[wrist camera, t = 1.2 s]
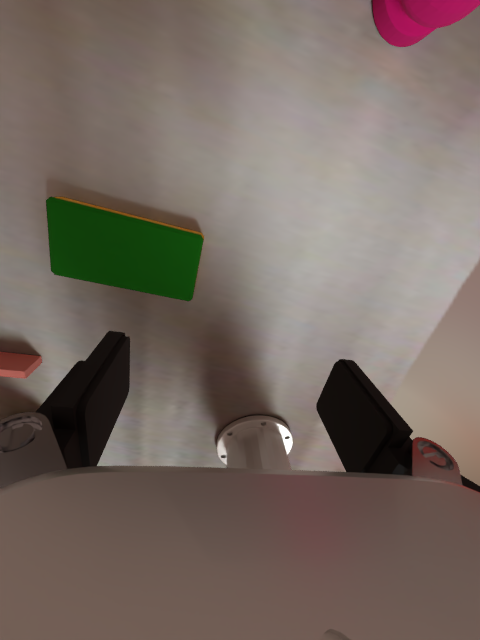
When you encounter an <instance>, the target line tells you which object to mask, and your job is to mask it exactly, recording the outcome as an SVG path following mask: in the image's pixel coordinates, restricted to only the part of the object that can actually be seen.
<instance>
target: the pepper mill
mask: <svg viewBox="0 0 480 640" xmlns="http://www.w3.org/2000/svg"><path fill="white" fill-rule="evenodd" d="M479 5H480V0H373V14H374V20H375V24H376V27H377V29H378V31H379V33H380V35H381V36H382V38H384V39H385V40H386V41H387V42H388V43H389V44H391V45H394V46H397V47H406V46H410V45H413V44H415V43H417V42H419V41H420V40H422V39H423V38H424V37H426V36H427V35H428V34H430V33H431V32H432V31H434V30H435V29H436V28H440V27H444V26H448V25H451V24H453V23H455V22H457V21H459V20H461V19H462V18H464V17H465V16H467V15H468V14H469V13H471V12H472V11H473V10H474V9H475V8H476V7H478V6H479Z"/></svg>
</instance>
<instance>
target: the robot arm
mask: <svg viewBox="0 0 480 640" xmlns="http://www.w3.org/2000/svg"><path fill="white" fill-rule="evenodd" d="M129 375H130V338H129V337H126V336H125V333H122V332H114V331H109V332H108V333H107V334H106V335H105V337H104V338H103V339H102V340H101V342H100V343H99V344H98V345H97V347H96V348H95V349H94V351H93V352H92V353H91V354H90V356H89V357H88V358H87V359H86V361H78V362H77V363H76V364H75V365H74V367H73V368H72V369H71V370H70V371H69V373H68V374H67V375H66V376H65V377H64V379H63V380H62V381H61V382H60V383H59V385H58V386H57V387H56V388H55V390H54V391H53V392H52V393H51V394H50V396H49V397H48V398H47V399H46V400H45V402H44V403H43V404H42V405H41V406H40V408H39V409H38V410H37V411H36V412H25V413H19V414H15V415H11V416H9V417H6V418H4V419H2V420H0V640H480V486H478V485H477V484H475V483H473V482H472V481H470V480H468V479H467V478H465V477H463V476H462V475H460V470H459V467H458V464H457V462H456V461H455V459H454V458H453V457H452V456H451V455H450V454H449V453H448V452H447V451H446V450H445V449H443V448H442V447H441V446H440V445H438V444H436V443H434V442H433V441H431V440H428V439H426V438H422V437H417V438H415V439H413V441H412V439H411V438H410V437H409V436H410V435H411V433H412V432H413V430H412V429H411V428H410V427H409V426H408V424H407V423H406V422H405V421H404V420H403V418H402V417H401V416H400V415H399V414H398V413H397V411H396V410H395V409H394V408H393V407H392V405H391V404H390V403H389V402H388V401H387V400H386V398H385V397H384V396H383V395H382V394H381V392H380V391H379V390H378V389H377V388H376V387H375V385H374V384H373V383H372V382H371V381H370V379H369V378H368V377H367V376H366V375H365V374H364V372H363V371H362V370H361V369H360V368H359V366H358V365H357V364H356V363H355V362H354V361H352V360H345V359H340V360H339V361H338V362H336V363H335V364H334V366H333V368H332V371H331V373H330V375H329V377H328V380H327V382H326V384H325V386H324V388H323V391H322V393H321V395H320V397H319V400H318V402H317V411H318V413H319V416H320V418H321V420H322V422H323V424H324V426H325V428H326V430H327V432H328V434H329V436H330V439H331V441H332V443H333V445H334V447H335V449H336V451H337V453H338V455H339V457H340V459H341V462H342V464H343V466H344V468H345V470H346V472H329V471H303V470H292V469H291V466H290V462H289V459H288V455H287V454H288V453H289V451H290V450H291V447H292V444H293V439H292V435H291V432H290V429H289V428H288V426H287V425H286V424H285V423H284V422H282V421H281V420H279V419H277V418H274V417H270V416H263V415H255V416H248V417H244V418H241V419H238V420H236V421H234V422H232V423H231V424H229V425H228V426H227V427H225V428H224V429H223V430H222V432H221V433H220V435H219V437H218V439H217V454H218V456H219V458H220V459H221V461H222V462H224V463H225V464H226V465H227V468H211V467H177V466H97V464H98V462H99V460H100V457H101V455H102V453H103V450H104V448H105V446H106V444H107V441H108V439H109V437H110V434H111V432H112V430H113V428H114V425H115V423H116V421H117V418H118V416H119V414H120V412H121V409H122V407H123V405H124V402H125V400H126V398H127V395H128V392H129Z"/></svg>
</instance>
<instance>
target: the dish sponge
mask: <svg viewBox="0 0 480 640" xmlns="http://www.w3.org/2000/svg"><path fill="white" fill-rule="evenodd" d="M46 206H47V220H48V234H49V248H50V262H51V271H52V272H53V273H54V274H55V275H59V276H64V277H69V278H74V279H79V280H84V281H90V282H95V283H100V284H105V285H110V286H115V287H120V288H125V289H130V290H135V291H140V292H145V293H150V294H155V295H160V296H165V297H170V298H175V299H180V300H185V301H190V300H191V299H192V298H193V293H194V288H195V282H196V277H197V272H198V266H199V261H200V256H201V251H202V245H203V240H204V236H203V234H202V233H201V232H197V231H193V230H189V229H185V228H181V227H177V226H173V225H169V224H166V223H162V222H158V221H154V220H150V219H146V218H142V217H138V216H135V215H131V214H127V213H123V212H119V211H115V210H111V209H107V208H103V207H100V206H96V205H92V204H88V203H84V202H80V201H76V200H72V199H69V198H65V197H49V198H48V199H47V200H46Z"/></svg>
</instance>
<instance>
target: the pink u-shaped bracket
mask: <svg viewBox="0 0 480 640" xmlns="http://www.w3.org/2000/svg"><path fill="white" fill-rule="evenodd" d="M41 363H42V359H41V356H35V355H26V354H17V353H7V352H0V376H4V377H15V378H27V377H28V376H29V375H30V374H31V373H32V372H33V371H34V370H35V369H36V368H37V367H38V366H39V365H40V364H41Z"/></svg>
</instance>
